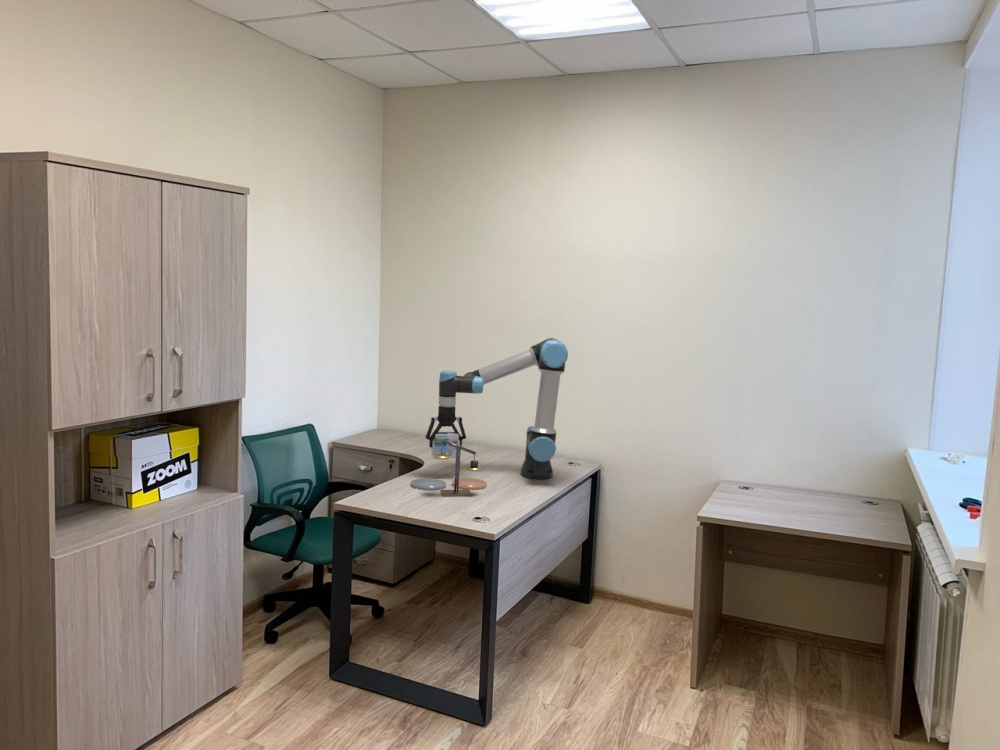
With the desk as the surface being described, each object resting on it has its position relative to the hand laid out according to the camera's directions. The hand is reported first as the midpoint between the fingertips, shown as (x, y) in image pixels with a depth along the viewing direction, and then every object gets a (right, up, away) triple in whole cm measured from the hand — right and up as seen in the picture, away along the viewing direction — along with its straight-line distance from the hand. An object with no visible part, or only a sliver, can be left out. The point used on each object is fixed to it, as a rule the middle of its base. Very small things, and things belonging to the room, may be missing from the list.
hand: (445, 454), depth 342 cm
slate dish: (-6, -12, -14) cm, 19 cm away
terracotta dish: (+11, -12, -9) cm, 19 cm away
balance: (+6, -14, -25) cm, 29 cm away
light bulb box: (0, -1, 0) cm, 1 cm away
